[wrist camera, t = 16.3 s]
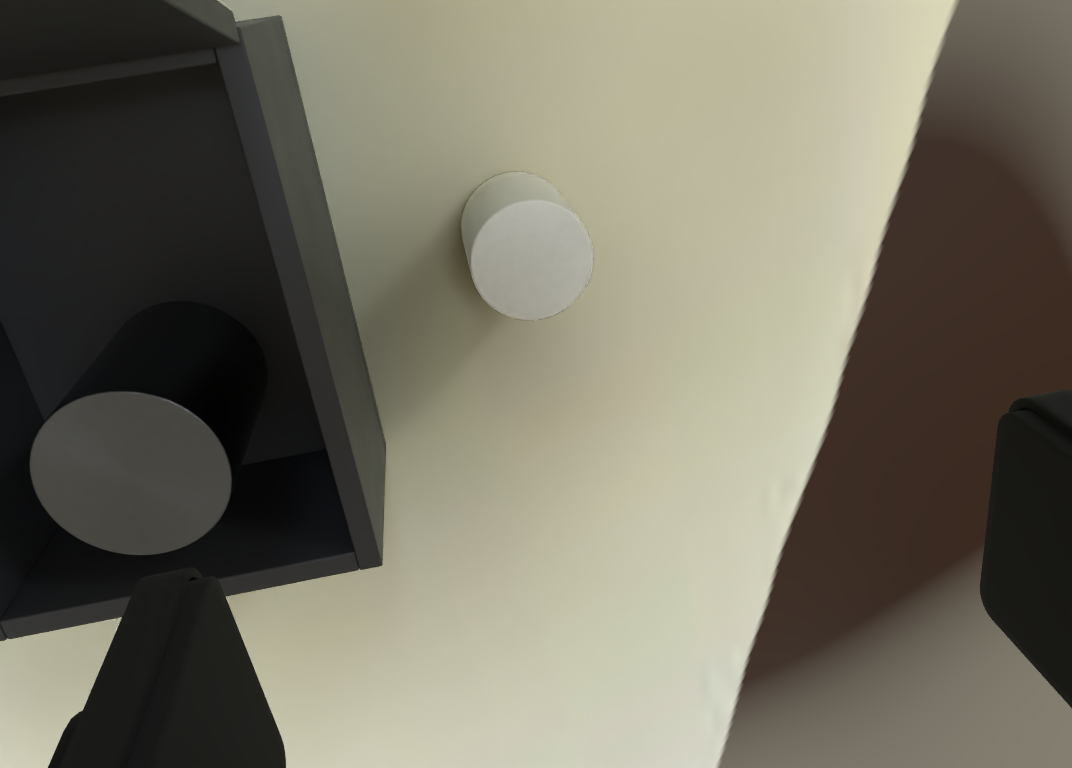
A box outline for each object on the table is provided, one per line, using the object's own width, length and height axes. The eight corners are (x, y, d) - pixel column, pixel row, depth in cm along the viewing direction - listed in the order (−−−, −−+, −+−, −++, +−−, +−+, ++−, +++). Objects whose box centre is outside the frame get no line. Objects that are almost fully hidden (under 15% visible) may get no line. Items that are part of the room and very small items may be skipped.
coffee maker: (386, 445, 38) (382, 566, 30) (71, 504, 37) (-18, 645, 29) (281, 14, 31) (239, 26, 23) (-118, 76, 30) (-307, 110, 22)
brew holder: (132, 273, 34) (47, 366, 25) (287, 321, 35) (253, 422, 27) (101, 406, 36) (13, 531, 28) (248, 445, 37) (207, 574, 29)
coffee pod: (483, 154, 34) (496, 181, 29) (586, 194, 35) (614, 225, 30) (445, 258, 35) (451, 299, 31) (544, 293, 36) (565, 336, 32)
